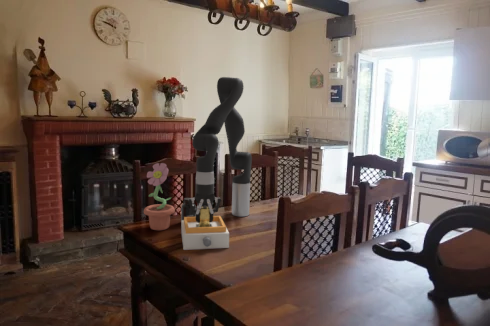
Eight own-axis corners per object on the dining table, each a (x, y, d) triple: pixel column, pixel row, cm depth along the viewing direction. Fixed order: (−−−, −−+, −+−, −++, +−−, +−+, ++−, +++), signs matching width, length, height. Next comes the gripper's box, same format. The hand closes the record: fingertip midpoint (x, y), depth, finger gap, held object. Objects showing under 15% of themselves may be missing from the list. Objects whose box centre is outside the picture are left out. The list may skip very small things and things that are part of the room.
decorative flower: (135, 229, 172) (134, 163, 167) (156, 221, 184) (155, 160, 179) (161, 234, 165) (161, 166, 160) (180, 226, 177) (181, 163, 173)
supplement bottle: (189, 226, 178) (189, 201, 177) (178, 223, 182) (178, 199, 180) (198, 222, 184) (198, 198, 182) (187, 220, 188) (187, 196, 186)
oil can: (198, 227, 161) (198, 203, 159) (209, 226, 162) (209, 202, 160) (199, 230, 156) (199, 205, 155) (210, 230, 157) (210, 205, 156)
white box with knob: (181, 233, 168) (181, 215, 166) (221, 231, 171) (222, 214, 170) (183, 252, 145) (184, 232, 144) (230, 250, 149) (230, 230, 148)
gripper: (220, 180, 161) (220, 219, 164) (186, 180, 158) (186, 220, 161) (223, 183, 154) (222, 224, 156) (188, 184, 151) (187, 225, 153)
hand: (204, 221), depth 159 cm, fingers closed on oil can, 4 cm apart
